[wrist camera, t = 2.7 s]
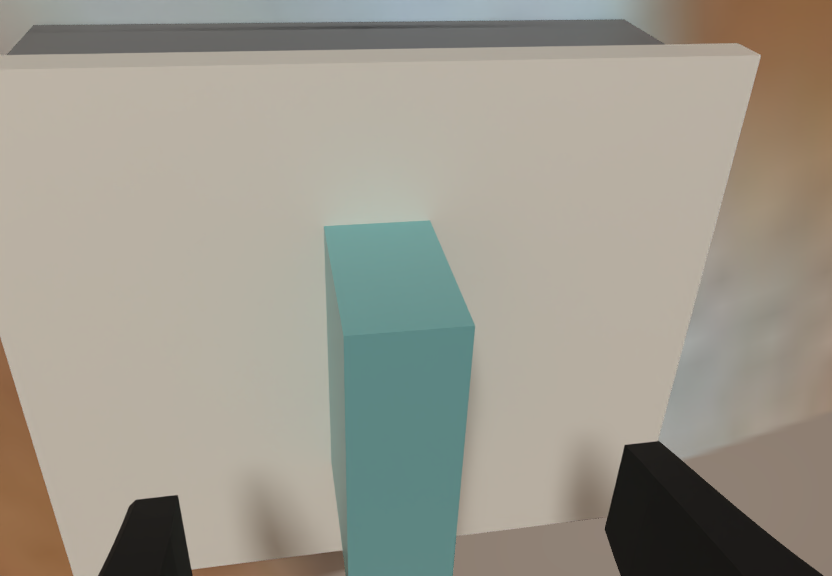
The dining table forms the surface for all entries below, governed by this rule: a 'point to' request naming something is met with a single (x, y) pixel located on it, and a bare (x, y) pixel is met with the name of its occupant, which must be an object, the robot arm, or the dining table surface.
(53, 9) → the dining table surface
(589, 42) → the tub
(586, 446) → the lid
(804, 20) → the dining table surface
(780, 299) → the dining table surface
